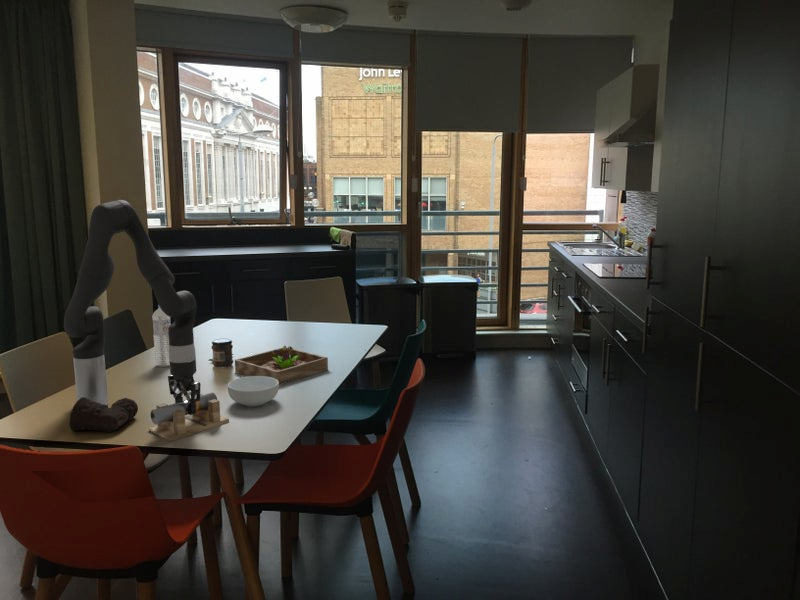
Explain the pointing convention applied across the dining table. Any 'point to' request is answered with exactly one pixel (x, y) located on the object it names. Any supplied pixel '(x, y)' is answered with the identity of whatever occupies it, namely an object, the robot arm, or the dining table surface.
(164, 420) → the tube
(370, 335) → the dining table surface
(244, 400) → the cereal bowl
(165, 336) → the water bottle
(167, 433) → the cradle board
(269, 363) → the plant
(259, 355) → the planter box
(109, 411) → the dark brown boot
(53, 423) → the dining table surface
